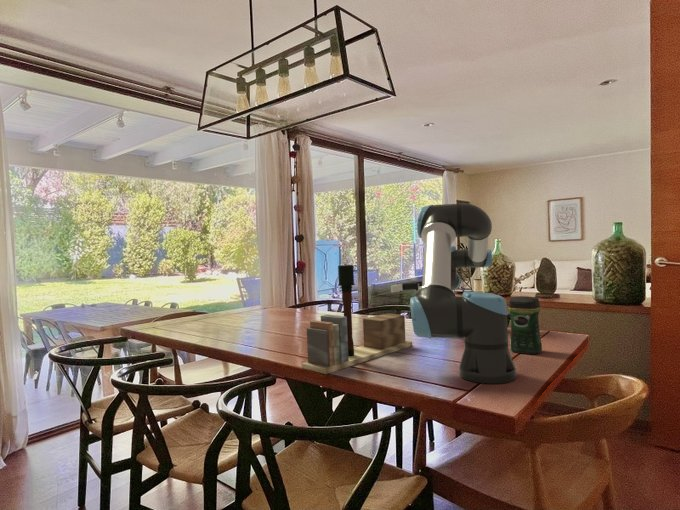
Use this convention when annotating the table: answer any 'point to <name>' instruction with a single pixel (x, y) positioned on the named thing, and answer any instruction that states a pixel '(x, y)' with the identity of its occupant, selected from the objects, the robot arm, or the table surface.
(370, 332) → the bookend
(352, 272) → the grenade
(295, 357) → the table surface
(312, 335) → the book rack
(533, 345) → the coffee jar
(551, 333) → the table surface
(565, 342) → the table surface
